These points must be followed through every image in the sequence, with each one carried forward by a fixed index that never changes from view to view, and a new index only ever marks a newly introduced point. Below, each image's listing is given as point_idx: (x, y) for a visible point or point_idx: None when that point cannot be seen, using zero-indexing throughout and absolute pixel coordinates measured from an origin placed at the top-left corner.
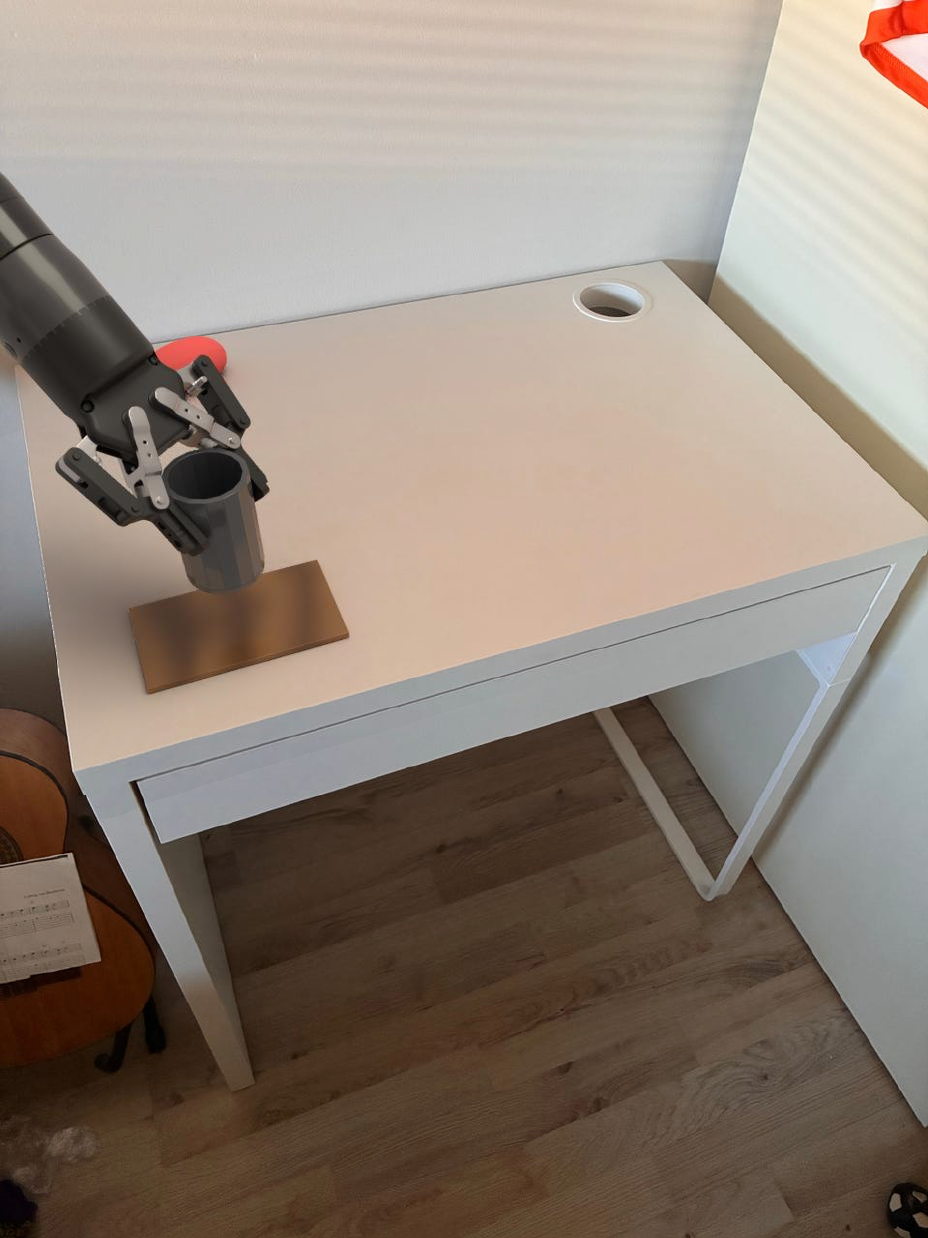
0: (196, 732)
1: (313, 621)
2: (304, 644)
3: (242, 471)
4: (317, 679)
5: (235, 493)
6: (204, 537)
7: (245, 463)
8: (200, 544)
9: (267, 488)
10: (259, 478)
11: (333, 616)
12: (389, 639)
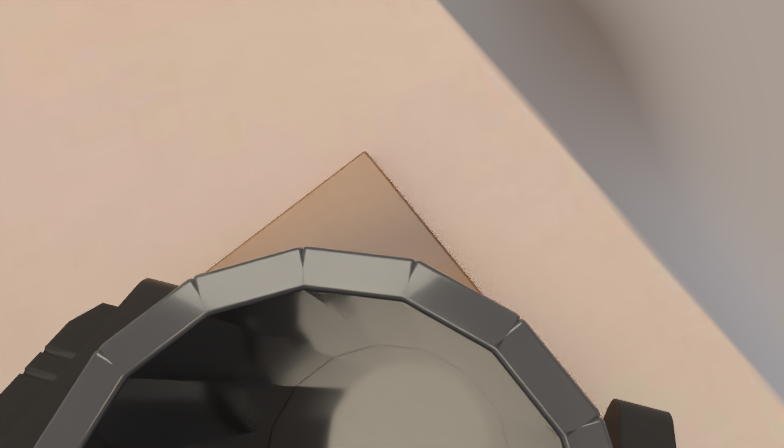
0: (772, 396)
1: (354, 247)
2: (435, 239)
3: (211, 312)
4: (514, 180)
5: (428, 268)
6: (625, 424)
7: (125, 330)
8: (672, 427)
9: (154, 282)
10: (119, 320)
11: (324, 205)
12: (346, 67)
